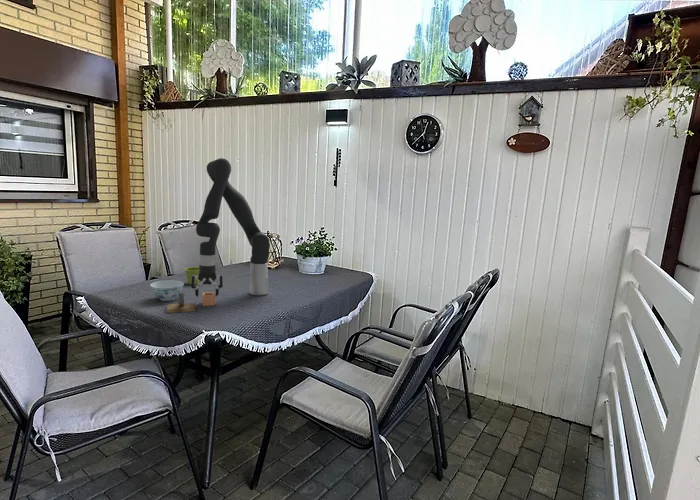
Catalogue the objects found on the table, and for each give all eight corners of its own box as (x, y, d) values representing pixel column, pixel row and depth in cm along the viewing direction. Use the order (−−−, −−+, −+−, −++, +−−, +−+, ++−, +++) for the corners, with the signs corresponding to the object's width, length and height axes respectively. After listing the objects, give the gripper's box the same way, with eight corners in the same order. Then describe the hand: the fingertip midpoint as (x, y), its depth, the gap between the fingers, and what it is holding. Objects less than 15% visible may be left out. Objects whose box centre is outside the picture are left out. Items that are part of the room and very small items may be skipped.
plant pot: (190, 286, 216) (190, 271, 214) (181, 283, 221) (181, 268, 220) (205, 283, 223) (205, 269, 222) (196, 280, 229) (196, 266, 227)
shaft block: (195, 305, 183) (195, 290, 182) (195, 311, 176) (195, 295, 175) (167, 307, 179) (167, 291, 178) (166, 312, 172) (166, 296, 170)
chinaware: (174, 293, 202) (174, 278, 201) (189, 299, 192) (189, 284, 191) (145, 298, 190) (144, 283, 189) (159, 305, 181) (158, 289, 180)
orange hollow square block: (214, 301, 191) (214, 292, 190) (215, 305, 186) (215, 295, 185) (202, 302, 189) (202, 292, 188) (202, 305, 184) (202, 295, 183)
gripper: (222, 262, 191) (222, 293, 193) (191, 262, 186) (191, 294, 188) (223, 265, 184) (222, 298, 186) (191, 265, 179) (190, 298, 181)
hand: (207, 296), depth 187 cm, fingers open, 8 cm apart
